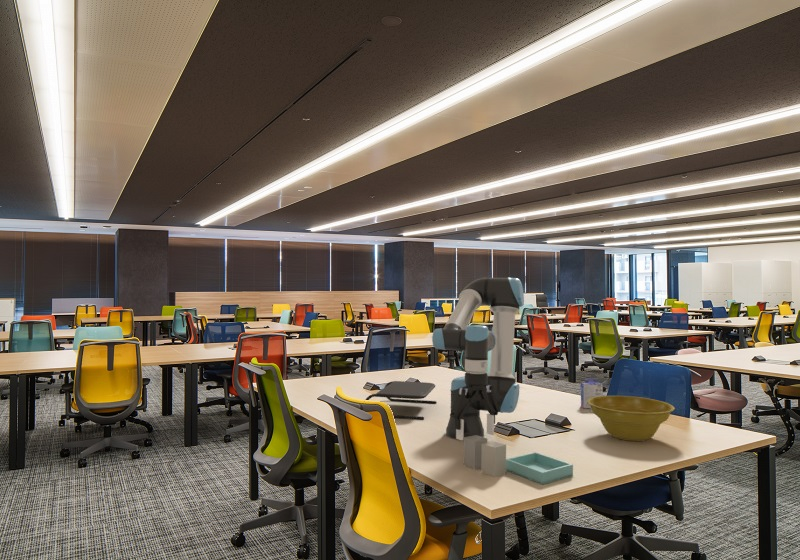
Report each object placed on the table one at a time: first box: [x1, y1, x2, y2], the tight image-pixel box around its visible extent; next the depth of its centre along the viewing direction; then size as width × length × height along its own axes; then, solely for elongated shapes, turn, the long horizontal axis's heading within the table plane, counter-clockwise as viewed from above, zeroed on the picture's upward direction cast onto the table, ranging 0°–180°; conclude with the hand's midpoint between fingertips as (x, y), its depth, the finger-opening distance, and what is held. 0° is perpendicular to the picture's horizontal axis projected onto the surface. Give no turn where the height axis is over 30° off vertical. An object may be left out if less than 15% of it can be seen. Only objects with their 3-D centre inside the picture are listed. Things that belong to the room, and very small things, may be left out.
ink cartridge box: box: [580, 377, 604, 409], centre depth 269 cm, size 10×6×14 cm, turn 89°
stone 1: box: [463, 435, 489, 470], centre depth 177 cm, size 6×6×9 cm
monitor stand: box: [365, 380, 437, 421], centre depth 259 cm, size 37×28×11 cm
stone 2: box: [480, 440, 507, 478], centre depth 170 cm, size 6×6×9 cm
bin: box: [506, 451, 574, 485], centre depth 170 cm, size 15×14×4 cm
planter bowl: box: [587, 395, 676, 442], centre depth 215 cm, size 32×32×13 cm
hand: (475, 436), depth 177 cm, fingers open, 13 cm apart
